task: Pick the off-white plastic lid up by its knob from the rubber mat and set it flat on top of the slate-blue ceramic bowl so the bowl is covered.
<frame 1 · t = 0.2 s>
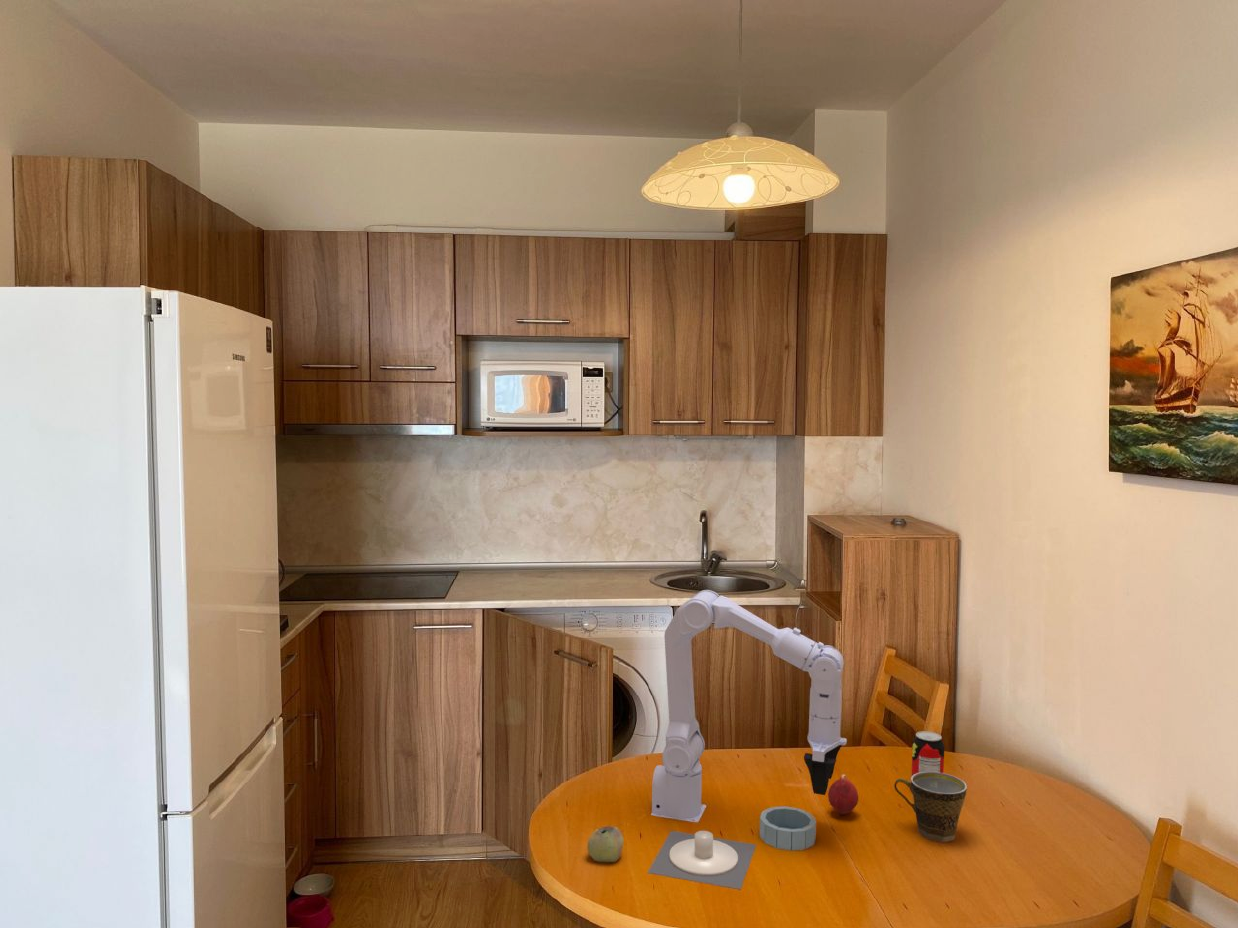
hand: (822, 785, 167), 10 cm above the table, tool pointing down, fingers open, 7 cm apart
ceramic cup: (928, 832, 170), on the table
lid: (703, 857, 158), point 1 cm above the table, touching mat
apple: (609, 861, 158), on the table
bowl: (787, 839, 166), on the table
mat: (703, 861, 158), on the table
beverage can: (926, 792, 188), on the table
onion: (842, 815, 177), on the table
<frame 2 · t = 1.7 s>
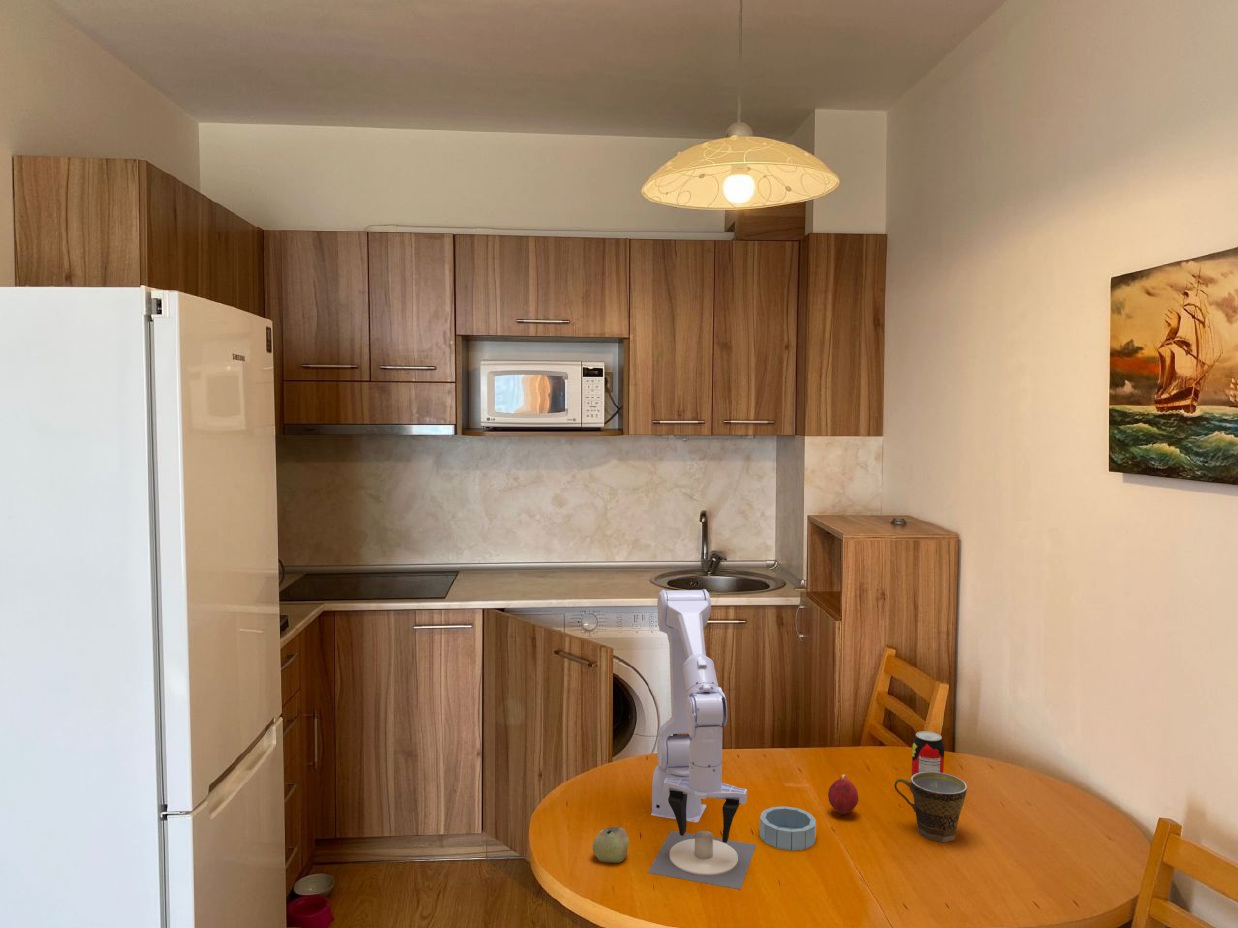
hand: (704, 836, 158), 5 cm above the table, tool pointing down, fingers open, 7 cm apart
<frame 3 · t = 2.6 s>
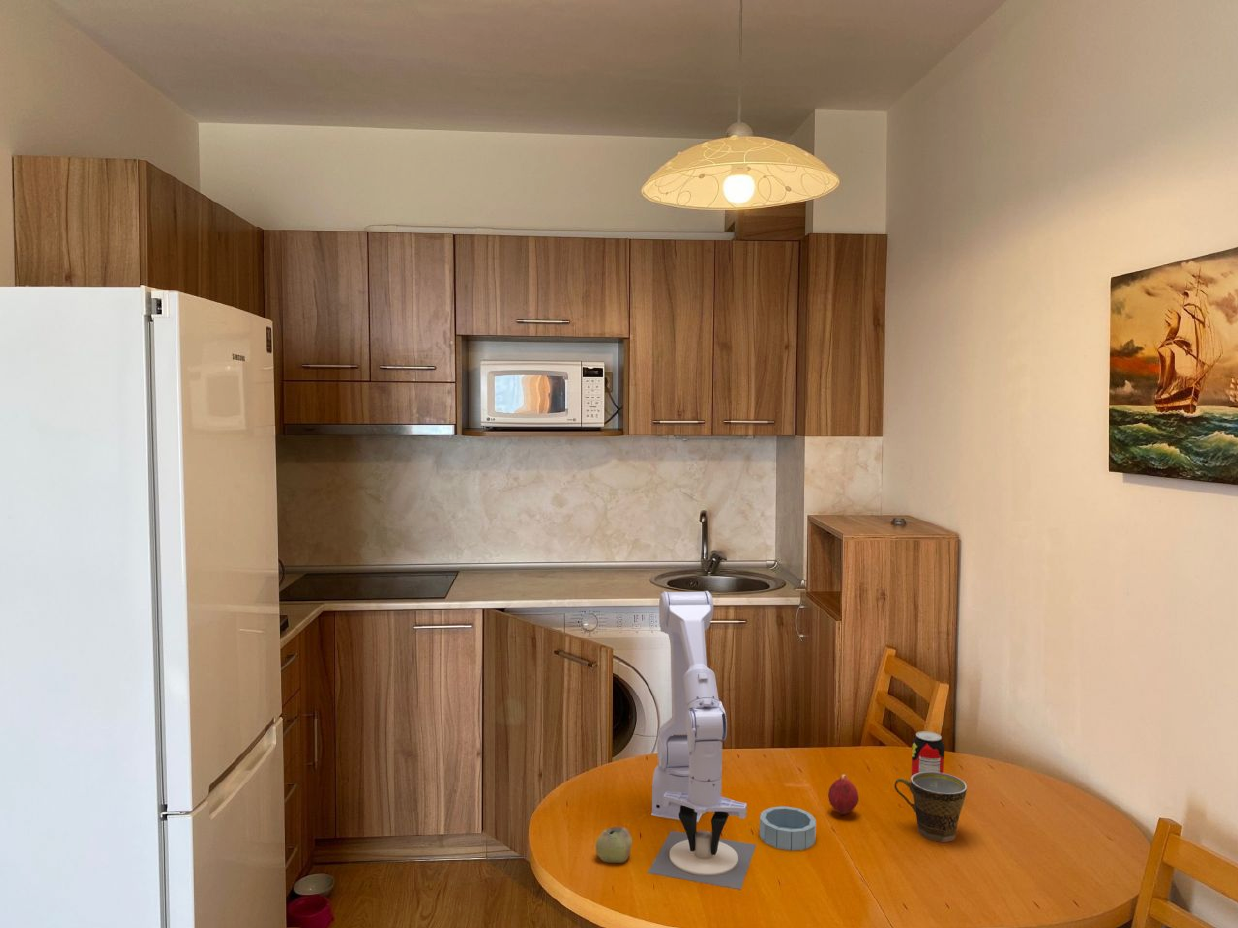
hand: (703, 850, 158), 2 cm above the table, tool pointing down, fingers closed on lid, 3 cm apart
lid: (703, 857, 158), point 1 cm above the table, touching gripper, mat
when the fingers open (7 cm above the table, at t = 5.8 s): lid drops 1 cm, resting on bowl.
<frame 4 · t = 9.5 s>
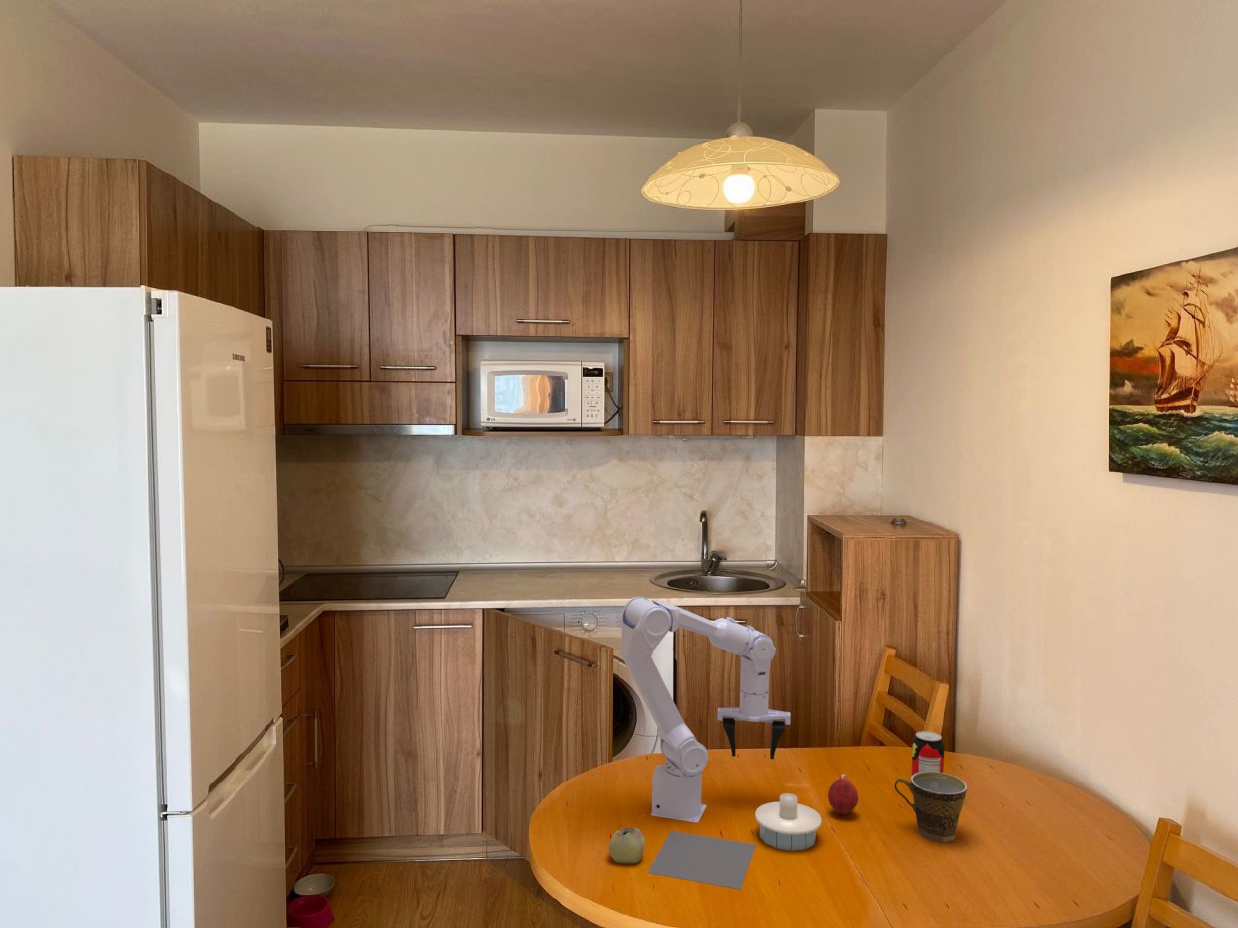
hand: (752, 755, 182), 9 cm above the table, tool pointing down, fingers open, 7 cm apart
lid: (788, 818, 166), point 4 cm above the table, touching bowl
apple: (630, 862, 158), on the table
everything else where it was.
at the end: lid 0.1 cm off-centre on the bowl, point 4.0 cm above the bowl's base; lid tilted 0°; the gripper is holding nothing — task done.
